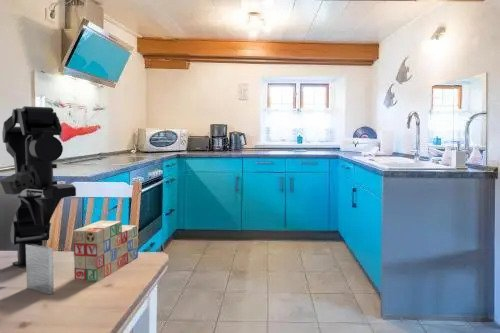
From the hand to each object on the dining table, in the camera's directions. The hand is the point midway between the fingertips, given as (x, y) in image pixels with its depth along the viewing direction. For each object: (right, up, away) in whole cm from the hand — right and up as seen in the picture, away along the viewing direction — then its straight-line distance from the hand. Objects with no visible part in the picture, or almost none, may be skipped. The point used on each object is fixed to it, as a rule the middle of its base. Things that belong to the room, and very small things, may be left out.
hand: (41, 225), depth 102 cm
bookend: (+3, -14, -7) cm, 16 cm away
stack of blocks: (+13, -13, +10) cm, 21 cm away
